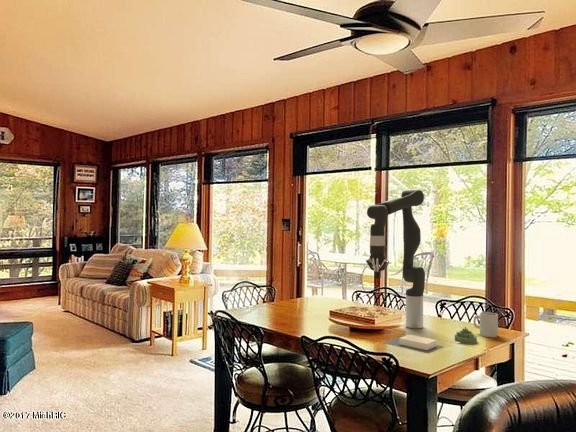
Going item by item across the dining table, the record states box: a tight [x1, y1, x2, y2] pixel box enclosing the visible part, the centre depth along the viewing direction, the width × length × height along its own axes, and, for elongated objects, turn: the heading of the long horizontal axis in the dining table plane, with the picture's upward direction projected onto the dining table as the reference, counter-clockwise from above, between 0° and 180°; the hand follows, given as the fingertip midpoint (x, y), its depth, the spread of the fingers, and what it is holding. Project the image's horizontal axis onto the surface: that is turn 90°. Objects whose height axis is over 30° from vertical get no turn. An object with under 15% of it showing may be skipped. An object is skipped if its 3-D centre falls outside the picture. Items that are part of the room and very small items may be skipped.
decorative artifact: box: [454, 326, 478, 345], centre depth 224 cm, size 10×7×10 cm
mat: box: [382, 336, 445, 354], centre depth 216 cm, size 24×15×1 cm, turn 45°
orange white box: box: [399, 334, 438, 351], centre depth 214 cm, size 3×9×14 cm
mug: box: [473, 311, 499, 338], centre depth 236 cm, size 12×8×11 cm
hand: (377, 278), depth 233 cm, fingers closed
